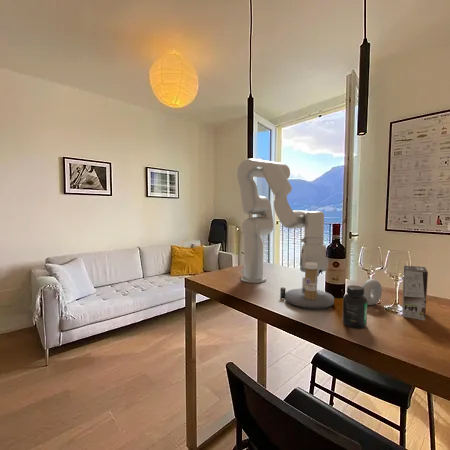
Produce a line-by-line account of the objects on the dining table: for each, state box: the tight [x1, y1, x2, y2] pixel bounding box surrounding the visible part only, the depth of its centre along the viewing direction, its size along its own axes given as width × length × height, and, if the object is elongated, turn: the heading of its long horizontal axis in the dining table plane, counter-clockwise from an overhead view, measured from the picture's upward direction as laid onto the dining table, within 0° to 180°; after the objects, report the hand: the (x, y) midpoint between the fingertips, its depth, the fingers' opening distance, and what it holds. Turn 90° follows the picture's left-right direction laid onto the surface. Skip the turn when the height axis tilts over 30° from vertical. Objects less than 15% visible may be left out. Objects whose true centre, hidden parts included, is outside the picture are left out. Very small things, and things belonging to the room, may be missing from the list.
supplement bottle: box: [342, 284, 368, 330], centre depth 87 cm, size 7×7×12 cm
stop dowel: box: [279, 287, 287, 300], centre depth 112 cm, size 2×2×4 cm
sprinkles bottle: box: [304, 262, 318, 300], centre depth 103 cm, size 5×5×13 cm
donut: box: [361, 278, 383, 306], centre depth 103 cm, size 10×4×10 cm, turn 117°
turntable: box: [284, 276, 335, 309], centre depth 107 cm, size 20×18×6 cm
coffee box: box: [401, 265, 429, 321], centre depth 94 cm, size 9×6×16 cm
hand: (312, 285), depth 114 cm, fingers closed
